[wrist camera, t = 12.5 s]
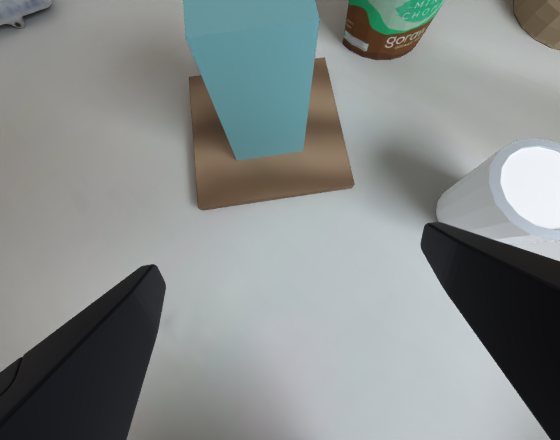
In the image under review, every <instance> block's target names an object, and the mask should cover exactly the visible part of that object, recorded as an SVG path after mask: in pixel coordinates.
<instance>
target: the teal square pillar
mask: <svg viewBox="0 0 560 440" xmlns="http://www.w3.org/2000/svg"><path fill="white" fill-rule="evenodd" d="M183 4H184V21H185V37H186V40H187V42H188V45H189V47H190V50H191V52H192V54H193V57H194V59H195V62H196V64H197V66H198V69H199V71H200V74H201V76H202V78H203V81H204V83H205V86H206V88H207V90H208V93H209V95H210V98H211V100H212V102H213V105H214V107H215V110H216V112H217V114H218V117H219V119H220V122H221V124H222V126H223V129H224V131H225V133H226V136H227V138H228V141H229V143H230V145H231V148H232V150H233V153H234V155H235V157H236V160H237V161H238V160H245V159H252V158H259V157H266V156H273V155H280V154H287V153H294V152H301V151H303V149H304V141H305V133H306V125H307V117H308V109H309V101H310V93H311V84H312V76H313V68H314V60H315V52H316V44H317V36H318V28H319V20H320V19H319V15H318V10H317V6H316V2H315V0H183Z"/></svg>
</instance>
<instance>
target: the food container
mask: <svg viewBox="0 0 560 440" xmlns="http://www.w3.org/2000/svg"><path fill="white" fill-rule="evenodd" d="M444 1H445V0H349V5H348V12H347V18H346V25H345V32H344V38H343V44H344V45H345V46H346V47H347V48H348V49H349V50H351V51H352V52H354V53H356V54H358V55H360V56H362V57H366V58H370V59H374V60H391V59H395V58H398V57H401V56H403V55H405V54H407V53H408V52H410V51H411V50H412V49H413V48H414V47H415V46H416V44H417V43H418V41H419V40H420V38H421V37H422V35H423V34H424V32H425V30H426V29H427V27H428V26H429V24H430V23H431V21H432V20H433V18H434V16H435V15H436V13H437V12H438V10H439V9H440V7H441V6H442V4H443V2H444Z"/></svg>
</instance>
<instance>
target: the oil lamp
mask: <svg viewBox="0 0 560 440" xmlns="http://www.w3.org/2000/svg"><path fill="white" fill-rule="evenodd" d="M514 14H515V16H516V18H517V20H518V22H519V23H520V25H521V27H522V28H523V29H524V30H525V31H526V32H527V33H528V34H529V35H531V36H532V37H533V38H534V39H535V40H537V41H539V42H541V43H543V44H545V45H547V46H549V47H551V48H554V49H558V50H560V0H514Z"/></svg>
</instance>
